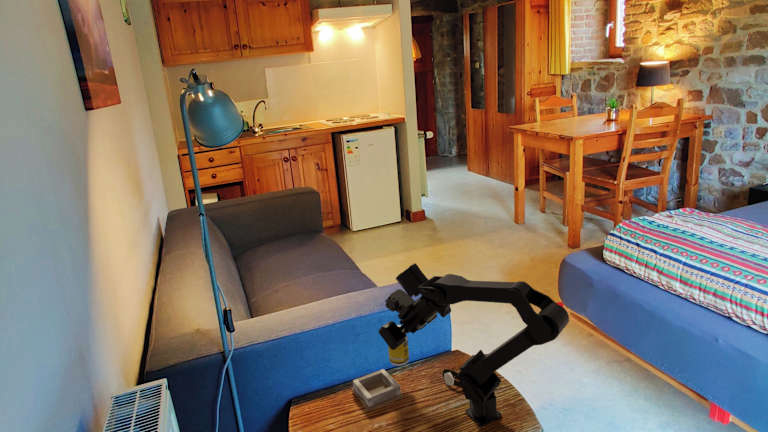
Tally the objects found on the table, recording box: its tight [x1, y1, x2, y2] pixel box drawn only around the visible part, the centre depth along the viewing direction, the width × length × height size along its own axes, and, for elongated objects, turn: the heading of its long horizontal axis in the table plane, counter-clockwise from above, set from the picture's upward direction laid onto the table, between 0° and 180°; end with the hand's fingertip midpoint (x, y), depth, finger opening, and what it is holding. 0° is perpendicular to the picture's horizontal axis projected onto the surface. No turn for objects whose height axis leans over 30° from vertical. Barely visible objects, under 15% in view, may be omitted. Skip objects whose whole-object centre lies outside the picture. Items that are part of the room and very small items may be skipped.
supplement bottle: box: [387, 324, 410, 366], centre depth 133 cm, size 5×5×10 cm
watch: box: [442, 368, 462, 388], centre depth 134 cm, size 8×5×4 cm, turn 33°
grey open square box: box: [351, 368, 404, 412], centre depth 131 cm, size 10×10×4 cm
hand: (393, 337), depth 133 cm, fingers closed on supplement bottle, 5 cm apart
